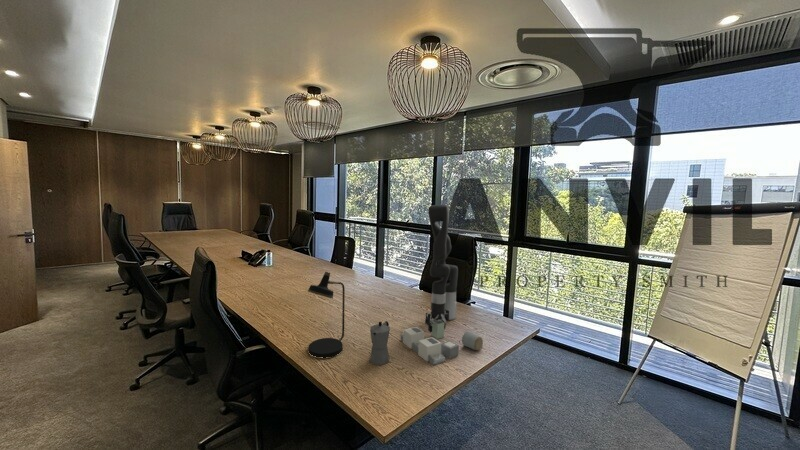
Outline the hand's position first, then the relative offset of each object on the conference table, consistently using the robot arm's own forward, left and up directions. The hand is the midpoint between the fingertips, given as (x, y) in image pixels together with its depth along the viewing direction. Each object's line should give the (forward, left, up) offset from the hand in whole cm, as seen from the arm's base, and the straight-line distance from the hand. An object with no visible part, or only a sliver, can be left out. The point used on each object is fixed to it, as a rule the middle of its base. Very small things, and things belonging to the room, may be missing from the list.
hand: (436, 330), depth 168 cm
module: (-1, 0, -3) cm, 3 cm away
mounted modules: (+16, +8, -3) cm, 18 cm away
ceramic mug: (-9, +18, -4) cm, 21 cm away
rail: (+16, +8, -3) cm, 18 cm away
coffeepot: (+37, +6, -4) cm, 38 cm away
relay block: (+6, +18, -4) cm, 20 cm away
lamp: (+55, -14, -4) cm, 57 cm away
